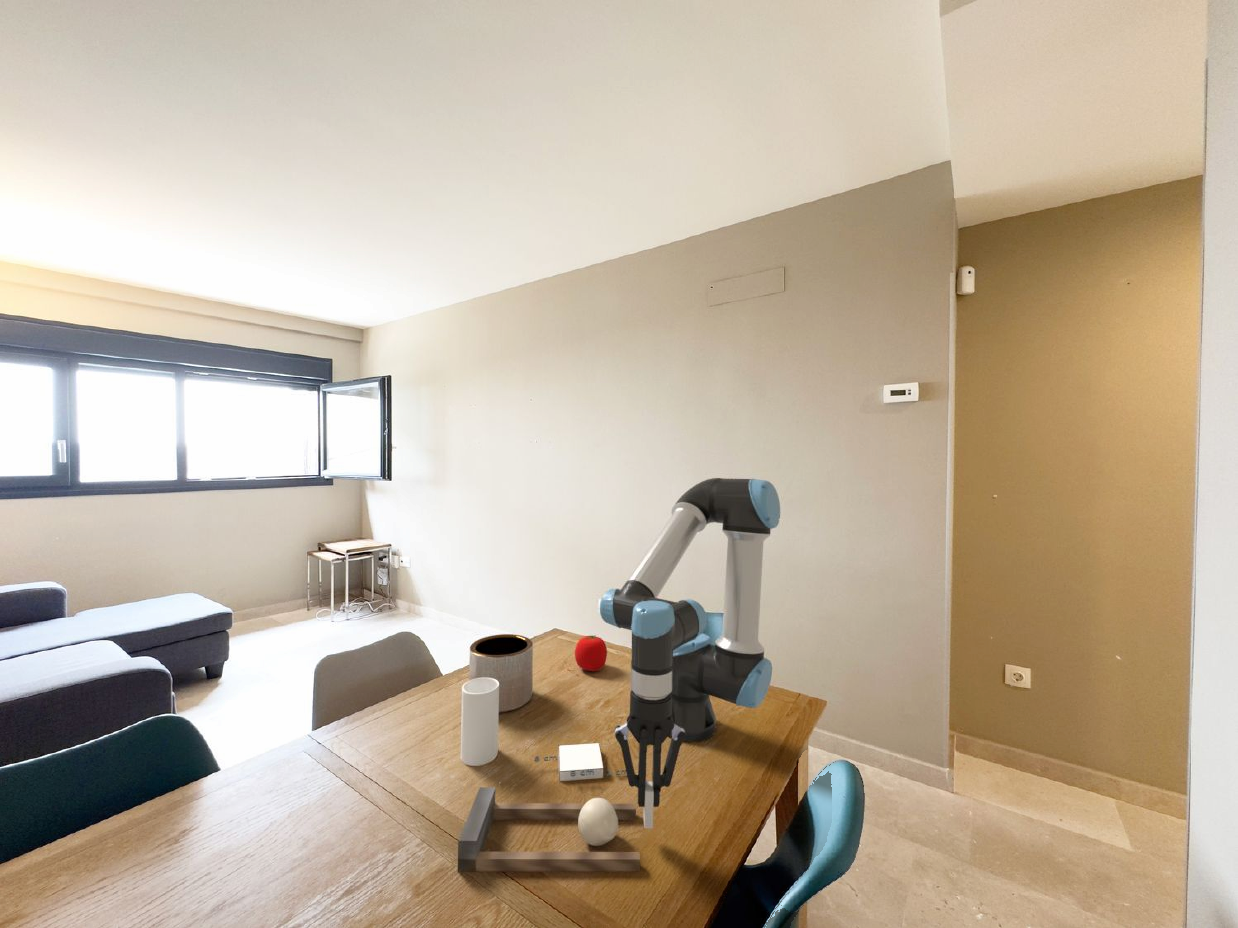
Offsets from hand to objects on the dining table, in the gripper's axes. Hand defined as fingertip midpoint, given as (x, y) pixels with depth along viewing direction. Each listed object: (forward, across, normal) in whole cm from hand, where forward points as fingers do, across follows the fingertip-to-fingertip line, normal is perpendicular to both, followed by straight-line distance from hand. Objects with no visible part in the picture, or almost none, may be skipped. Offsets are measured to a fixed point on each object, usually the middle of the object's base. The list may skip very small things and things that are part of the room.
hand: (648, 822), depth 85 cm
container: (+4, +13, -21) cm, 25 cm away
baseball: (+4, +9, 0) cm, 10 cm away
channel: (+3, +17, 0) cm, 17 cm away
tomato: (+3, +13, -72) cm, 73 cm away
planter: (+3, +38, -51) cm, 64 cm away
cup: (+4, +37, -25) cm, 45 cm away
